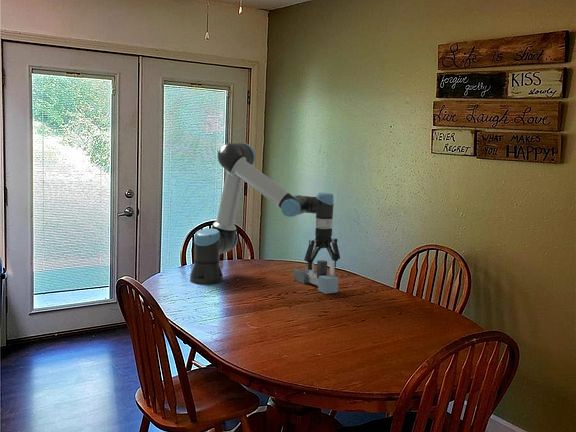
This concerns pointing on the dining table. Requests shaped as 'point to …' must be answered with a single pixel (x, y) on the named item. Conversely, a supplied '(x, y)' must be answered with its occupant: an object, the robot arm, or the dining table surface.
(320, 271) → the gray bent bar
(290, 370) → the dining table surface
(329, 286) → the socket
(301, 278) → the open u-shaped channel
